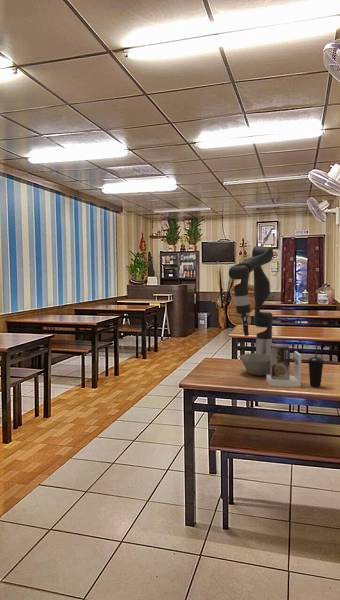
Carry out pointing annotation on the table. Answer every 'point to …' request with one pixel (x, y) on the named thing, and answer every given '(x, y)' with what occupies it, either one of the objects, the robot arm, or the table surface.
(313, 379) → the drinking cup
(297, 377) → the white l-shaped bookend
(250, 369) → the ceramic bowl
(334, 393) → the table surface
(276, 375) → the coffee box
